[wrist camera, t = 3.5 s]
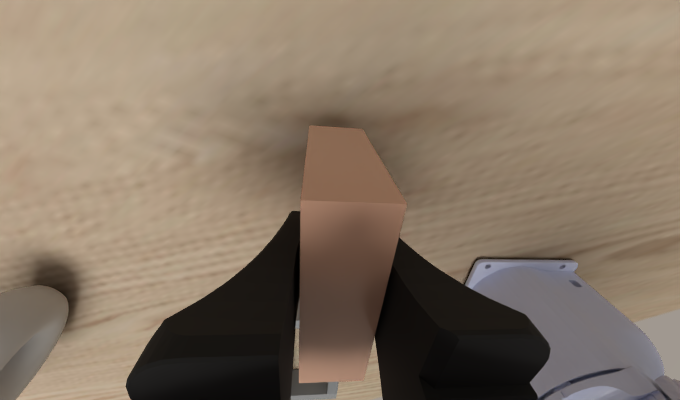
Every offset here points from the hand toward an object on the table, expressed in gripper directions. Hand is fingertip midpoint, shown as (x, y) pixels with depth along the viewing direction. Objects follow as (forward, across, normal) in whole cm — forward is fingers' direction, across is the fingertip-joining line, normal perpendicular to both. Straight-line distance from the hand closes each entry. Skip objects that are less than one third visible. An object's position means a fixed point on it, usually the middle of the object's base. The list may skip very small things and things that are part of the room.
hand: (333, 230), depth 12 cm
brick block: (+3, 0, 0) cm, 3 cm away
